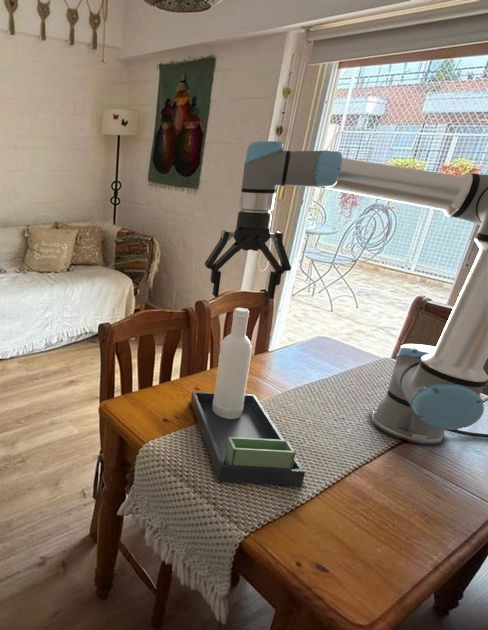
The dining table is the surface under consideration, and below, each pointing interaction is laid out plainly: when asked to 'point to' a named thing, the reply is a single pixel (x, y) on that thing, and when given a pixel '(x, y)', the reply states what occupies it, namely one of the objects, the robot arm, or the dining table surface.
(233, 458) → the green open box
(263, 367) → the dining table surface
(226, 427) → the tray
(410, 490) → the dining table surface
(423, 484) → the dining table surface
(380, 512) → the dining table surface
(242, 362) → the bottle
